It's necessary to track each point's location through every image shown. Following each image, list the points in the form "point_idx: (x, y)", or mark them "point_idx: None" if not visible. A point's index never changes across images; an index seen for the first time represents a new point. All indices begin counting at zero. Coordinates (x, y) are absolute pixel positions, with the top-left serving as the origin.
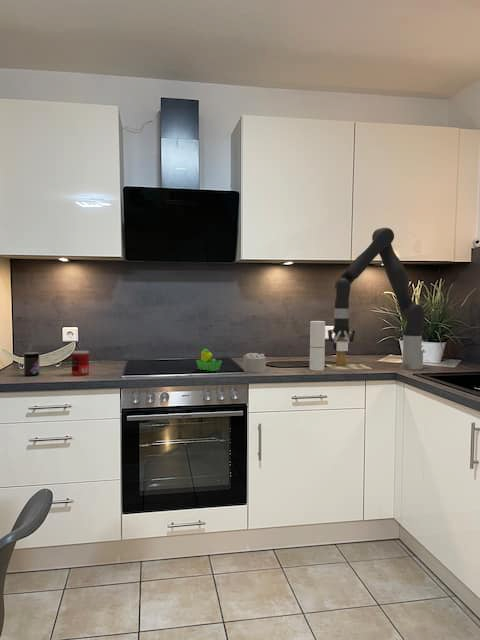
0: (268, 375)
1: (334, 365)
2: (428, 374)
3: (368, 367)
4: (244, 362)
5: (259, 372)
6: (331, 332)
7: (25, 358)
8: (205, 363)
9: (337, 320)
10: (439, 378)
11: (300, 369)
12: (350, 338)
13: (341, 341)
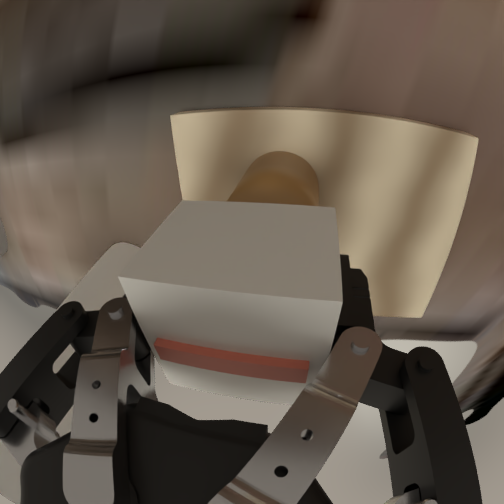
0: (32, 287)
1: (236, 167)
2: None
3: (434, 275)
4: None
5: (5, 252)
6: (39, 434)
7: None
8: None
9: None
10: (495, 387)
11: (66, 192)
12: (416, 403)
13: (232, 368)
